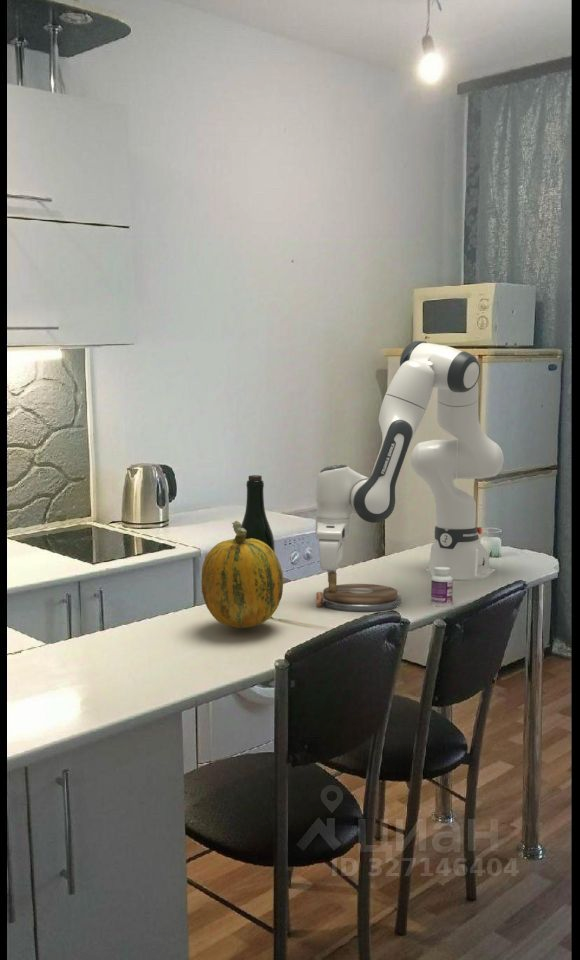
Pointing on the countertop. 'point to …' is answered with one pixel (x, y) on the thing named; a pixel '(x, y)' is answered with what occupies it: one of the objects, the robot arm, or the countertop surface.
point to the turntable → (358, 593)
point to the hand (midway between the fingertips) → (331, 581)
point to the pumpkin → (241, 581)
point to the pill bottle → (441, 587)
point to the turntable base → (356, 608)
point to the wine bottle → (257, 513)
